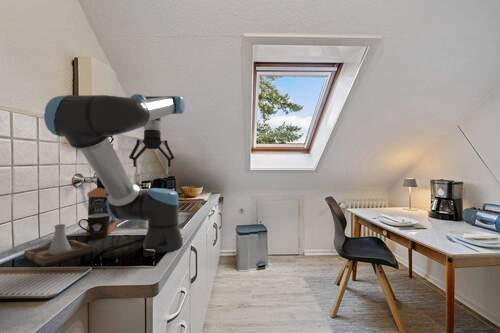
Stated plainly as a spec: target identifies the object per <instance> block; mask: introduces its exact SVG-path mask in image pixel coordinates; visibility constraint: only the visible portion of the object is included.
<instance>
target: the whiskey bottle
mask: <svg viewBox="0 0 500 333" xmlns="http://www.w3.org/2000/svg"><path fill="white" fill-rule="evenodd" d="M86 194H87V195H86V196H87V198H88V200H87V202H88V205H87V206H88V207H87V217H88V216H89V215H93V214H103V213H106V214H108V212H107V206H106V202H107V198H108V195H109V193H108V191H107V190H106V188H105V187H104V185H103V184H102V182H101V181H100V179H99V178H98V176H97V178H96V187H95V188H93V189H91V190H90V191H88V192H87V193H86ZM85 229H87V230H90V229H89V223H88V222H87V226H86V227H85ZM116 230H117V221H116V219H113V218H112V217H111V216H110V218H109V226H108V234H107V235H110V234H112V233H113V232H115V231H116ZM85 234H86V236H90V233H89V232H88V231H86V230H85Z"/></svg>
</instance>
